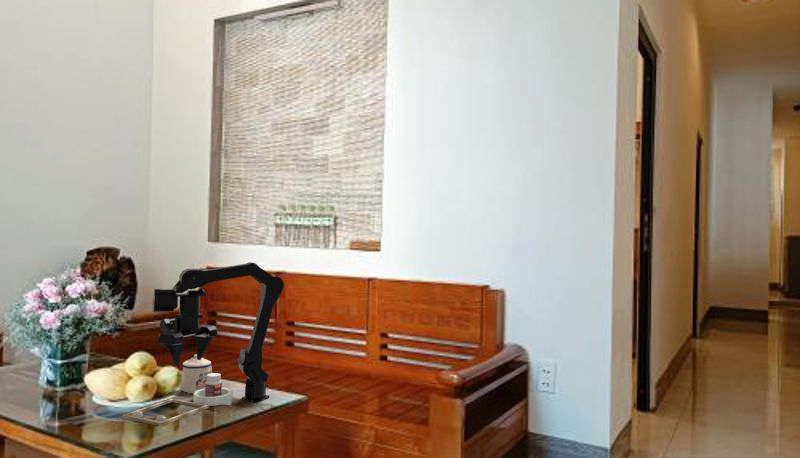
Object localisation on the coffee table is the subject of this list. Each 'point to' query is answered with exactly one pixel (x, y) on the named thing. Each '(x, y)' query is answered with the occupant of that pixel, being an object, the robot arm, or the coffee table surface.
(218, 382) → the pill bottle
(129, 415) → the tray
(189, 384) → the teacup with lid
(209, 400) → the bowl
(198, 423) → the coffee table surface
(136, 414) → the pebble
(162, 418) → the pebble
